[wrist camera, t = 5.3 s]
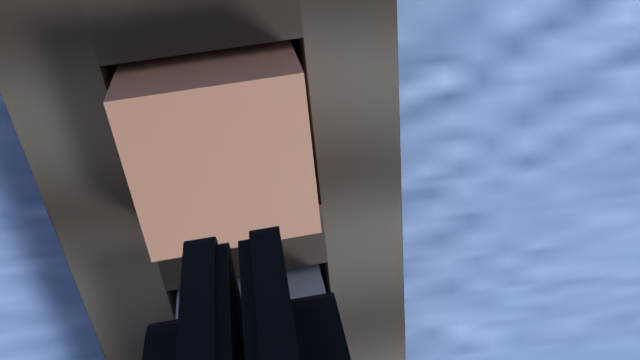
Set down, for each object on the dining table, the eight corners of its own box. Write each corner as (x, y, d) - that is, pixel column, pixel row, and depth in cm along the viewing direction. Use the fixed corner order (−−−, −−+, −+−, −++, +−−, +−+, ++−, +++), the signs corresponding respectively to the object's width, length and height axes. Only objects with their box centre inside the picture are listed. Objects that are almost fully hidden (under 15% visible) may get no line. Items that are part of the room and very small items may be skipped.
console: (-8, -45, 17) (-46, -24, 14) (367, -90, 18) (394, -79, 15) (187, 501, 31) (185, 561, 28) (392, 456, 32) (409, 511, 29)
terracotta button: (124, 47, 18) (102, 102, 14) (283, 25, 19) (303, 72, 15) (161, 184, 21) (151, 262, 17) (300, 162, 21) (321, 232, 17)
